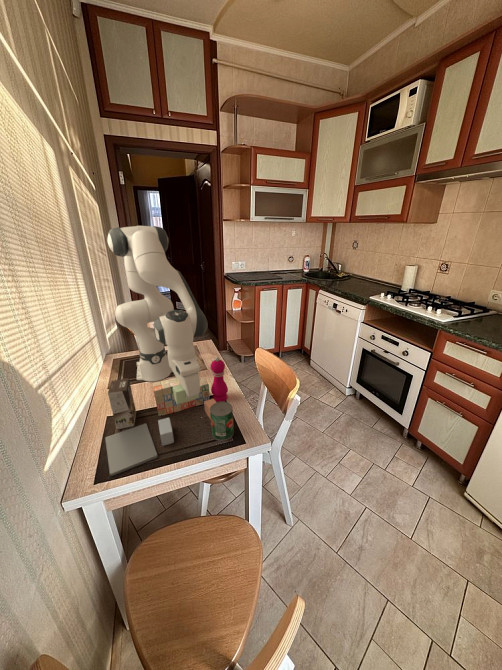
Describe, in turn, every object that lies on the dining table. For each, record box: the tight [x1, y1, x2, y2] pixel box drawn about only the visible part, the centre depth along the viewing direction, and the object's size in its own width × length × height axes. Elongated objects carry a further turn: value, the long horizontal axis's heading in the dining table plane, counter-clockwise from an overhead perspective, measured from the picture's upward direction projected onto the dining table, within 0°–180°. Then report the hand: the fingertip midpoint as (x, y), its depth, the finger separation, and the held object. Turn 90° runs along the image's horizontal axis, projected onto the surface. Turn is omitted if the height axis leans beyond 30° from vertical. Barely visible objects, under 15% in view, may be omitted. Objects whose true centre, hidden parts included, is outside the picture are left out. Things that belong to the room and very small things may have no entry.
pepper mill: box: [210, 356, 229, 402], centre depth 115 cm, size 7×7×20 cm
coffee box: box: [107, 377, 137, 430], centre depth 103 cm, size 9×6×16 cm
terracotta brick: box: [203, 398, 217, 420], centre depth 107 cm, size 4×8×5 cm, turn 31°
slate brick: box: [157, 417, 175, 447], centre depth 97 cm, size 4×8×5 cm, turn 23°
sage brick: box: [173, 384, 200, 405], centre depth 96 cm, size 4×8×5 cm, turn 120°
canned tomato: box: [210, 401, 235, 442], centre depth 97 cm, size 8×8×11 cm
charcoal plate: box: [104, 423, 159, 477], centre depth 92 cm, size 18×14×1 cm
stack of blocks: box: [152, 377, 211, 417], centre depth 112 cm, size 21×6×12 cm, turn 114°
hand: (186, 393), depth 96 cm, fingers closed on sage brick, 4 cm apart
